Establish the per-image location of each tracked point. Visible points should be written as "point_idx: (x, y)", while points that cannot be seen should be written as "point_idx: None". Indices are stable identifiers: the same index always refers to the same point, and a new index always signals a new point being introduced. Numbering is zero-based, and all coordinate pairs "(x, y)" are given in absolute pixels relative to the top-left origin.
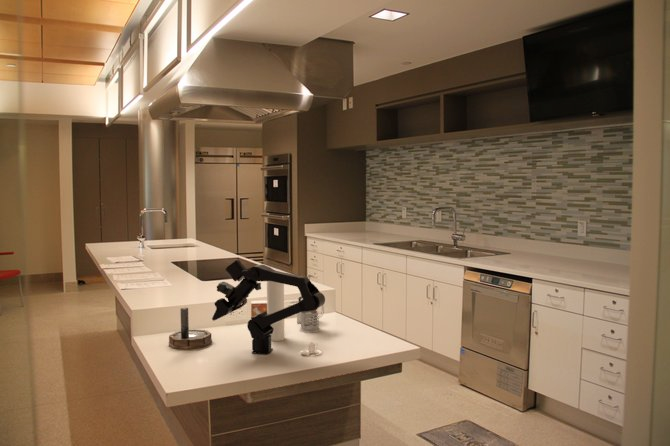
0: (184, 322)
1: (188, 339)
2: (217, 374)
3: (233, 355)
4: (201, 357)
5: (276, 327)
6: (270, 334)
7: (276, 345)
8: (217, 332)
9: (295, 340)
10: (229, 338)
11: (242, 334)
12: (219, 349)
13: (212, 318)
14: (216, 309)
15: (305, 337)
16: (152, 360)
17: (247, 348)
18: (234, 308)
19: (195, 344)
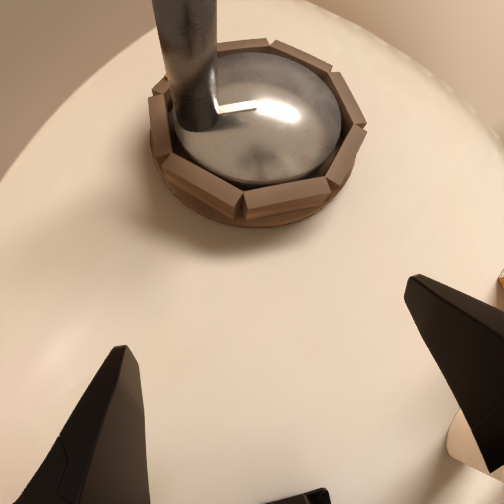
0: (166, 59)
1: (171, 152)
2: (9, 480)
3: (183, 458)
4: (86, 334)
5: (484, 471)
6: (463, 440)
7: (394, 500)
8: (434, 145)
9: (460, 491)
10: (410, 248)
11: (471, 262)
12: (233, 336)
13: (109, 358)
14: (22, 497)
15: (490, 482)
16: (13, 172)
17: (313, 448)
18: (483, 423)
19: (193, 194)
